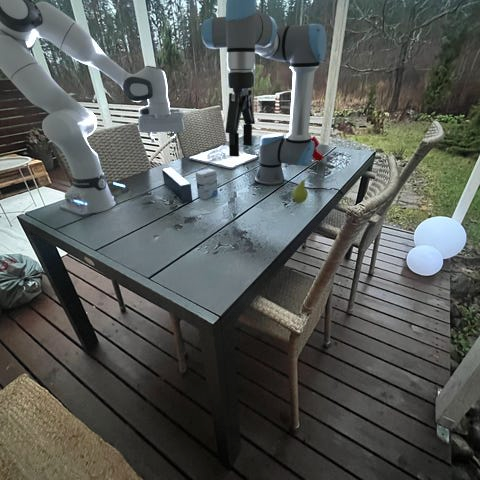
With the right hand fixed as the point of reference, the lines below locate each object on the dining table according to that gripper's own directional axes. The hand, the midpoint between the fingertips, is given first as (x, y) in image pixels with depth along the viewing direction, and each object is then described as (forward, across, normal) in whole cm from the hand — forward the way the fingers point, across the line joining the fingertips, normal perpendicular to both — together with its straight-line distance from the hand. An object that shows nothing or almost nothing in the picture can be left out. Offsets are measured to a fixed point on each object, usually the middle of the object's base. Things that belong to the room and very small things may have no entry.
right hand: (241, 150), depth 86 cm
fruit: (+29, -31, +17) cm, 46 cm away
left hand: (+7, -31, -49) cm, 58 cm away
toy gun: (+29, -95, +12) cm, 100 cm away
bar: (+29, -24, -41) cm, 56 cm away
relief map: (+29, -84, -40) cm, 97 cm away
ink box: (+29, -25, -25) cm, 46 cm away
